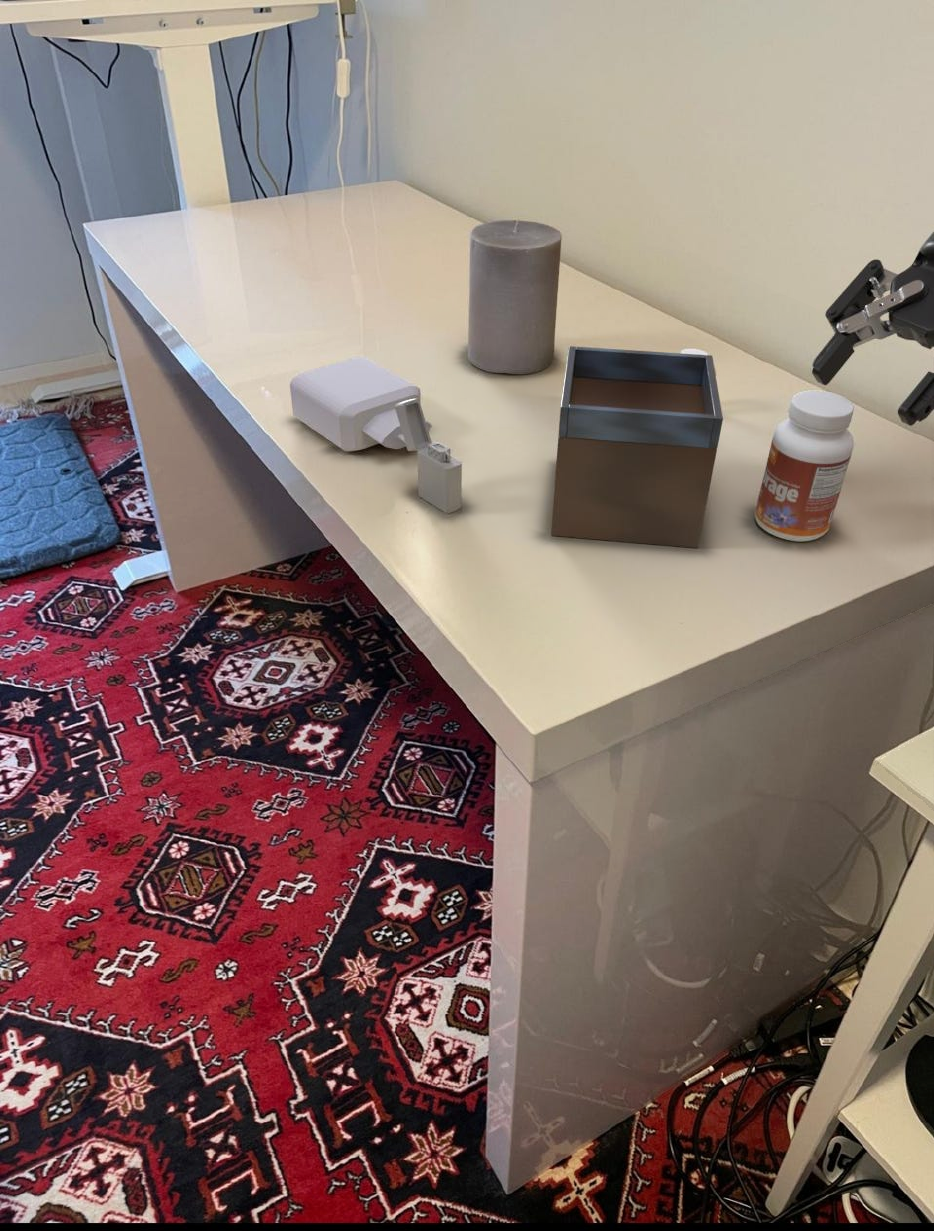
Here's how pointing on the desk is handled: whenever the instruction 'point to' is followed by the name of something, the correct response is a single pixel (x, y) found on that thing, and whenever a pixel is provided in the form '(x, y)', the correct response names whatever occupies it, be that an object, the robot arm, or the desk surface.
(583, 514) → the cube pen cup
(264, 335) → the desk surface
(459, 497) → the lighter
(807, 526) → the pill bottle
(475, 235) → the pillar candle
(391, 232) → the desk surface
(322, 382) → the charger
